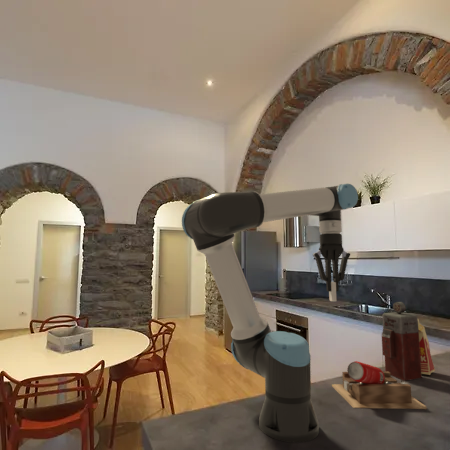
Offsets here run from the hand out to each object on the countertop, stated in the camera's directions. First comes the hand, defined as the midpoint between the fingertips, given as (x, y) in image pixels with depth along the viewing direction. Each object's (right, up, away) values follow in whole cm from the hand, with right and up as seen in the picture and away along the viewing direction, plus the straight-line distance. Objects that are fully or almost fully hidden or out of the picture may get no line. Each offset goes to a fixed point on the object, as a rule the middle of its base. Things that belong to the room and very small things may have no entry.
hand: (332, 300), depth 113 cm
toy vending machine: (+31, -32, +13) cm, 46 cm away
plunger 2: (+18, -27, -8) cm, 33 cm away
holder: (+11, -30, -8) cm, 33 cm away
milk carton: (+41, -33, +19) cm, 56 cm away
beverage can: (+13, -24, -6) cm, 28 cm away
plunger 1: (+5, -27, -8) cm, 28 cm away
